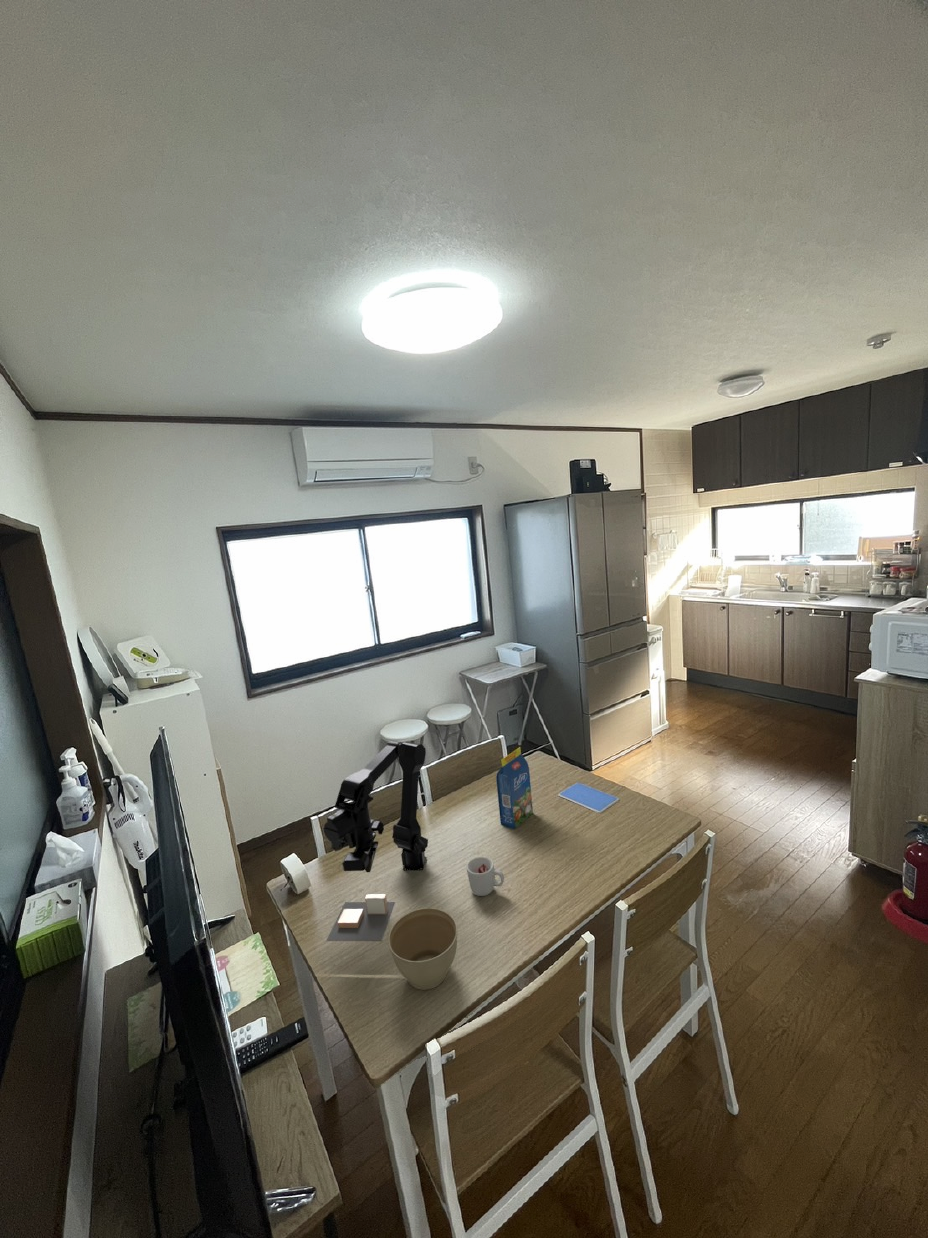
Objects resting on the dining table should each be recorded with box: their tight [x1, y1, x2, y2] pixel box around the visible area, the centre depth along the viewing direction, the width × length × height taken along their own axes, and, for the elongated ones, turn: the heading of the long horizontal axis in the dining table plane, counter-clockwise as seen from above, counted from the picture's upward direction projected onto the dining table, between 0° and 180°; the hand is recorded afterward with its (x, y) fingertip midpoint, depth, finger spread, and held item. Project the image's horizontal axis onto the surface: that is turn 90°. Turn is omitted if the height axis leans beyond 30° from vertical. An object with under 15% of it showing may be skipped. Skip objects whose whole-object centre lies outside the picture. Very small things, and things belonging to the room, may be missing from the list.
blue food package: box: [495, 746, 534, 830], centre depth 178 cm, size 6×12×25 cm, turn 141°
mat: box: [326, 901, 396, 942], centre depth 138 cm, size 15×14×1 cm
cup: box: [465, 856, 505, 897], centre depth 144 cm, size 11×8×8 cm
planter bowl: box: [388, 907, 458, 991], centre depth 118 cm, size 16×16×11 cm
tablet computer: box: [558, 782, 620, 814], centre depth 189 cm, size 19×13×1 cm, turn 40°
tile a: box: [364, 893, 388, 914], centre depth 140 cm, size 6×2×5 cm, turn 83°
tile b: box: [338, 909, 364, 928], centre depth 138 cm, size 6×2×5 cm
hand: (368, 871), depth 142 cm, fingers closed
